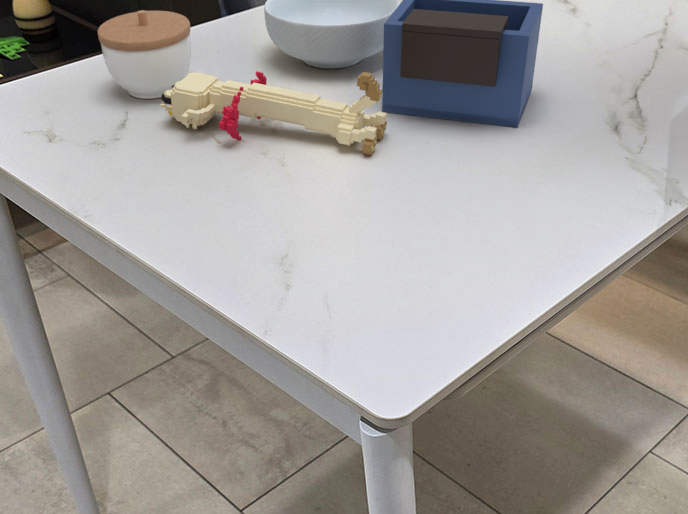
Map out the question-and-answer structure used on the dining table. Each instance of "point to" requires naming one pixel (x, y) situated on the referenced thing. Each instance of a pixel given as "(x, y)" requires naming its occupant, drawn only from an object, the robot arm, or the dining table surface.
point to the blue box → (458, 98)
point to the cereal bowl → (328, 29)
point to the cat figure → (276, 107)
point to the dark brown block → (452, 46)
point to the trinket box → (146, 51)
